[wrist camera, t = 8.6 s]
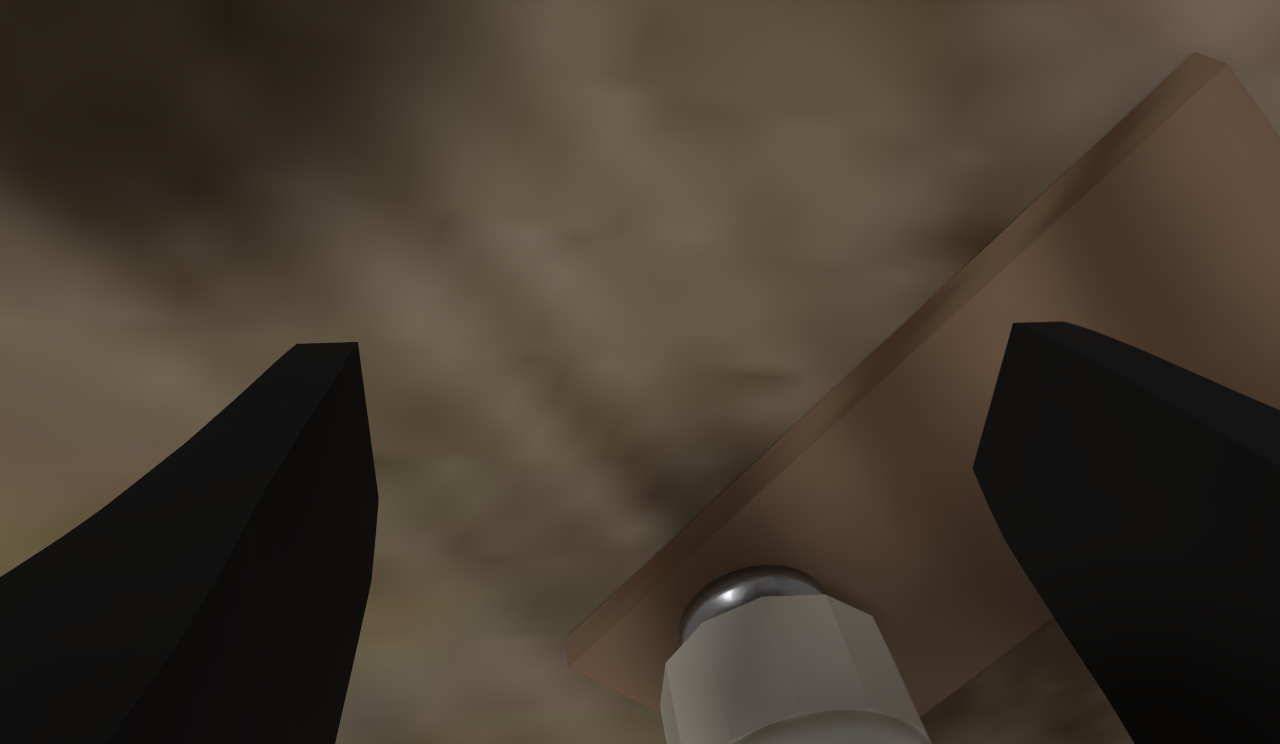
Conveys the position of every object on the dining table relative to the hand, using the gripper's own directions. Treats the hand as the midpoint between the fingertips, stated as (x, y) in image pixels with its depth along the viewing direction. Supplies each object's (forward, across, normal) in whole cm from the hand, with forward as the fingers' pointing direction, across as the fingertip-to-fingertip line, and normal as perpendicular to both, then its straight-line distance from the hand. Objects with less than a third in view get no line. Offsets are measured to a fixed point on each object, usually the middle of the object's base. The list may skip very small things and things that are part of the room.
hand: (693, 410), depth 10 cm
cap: (+7, -4, +12) cm, 15 cm away
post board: (+9, -9, +9) cm, 16 cm away
